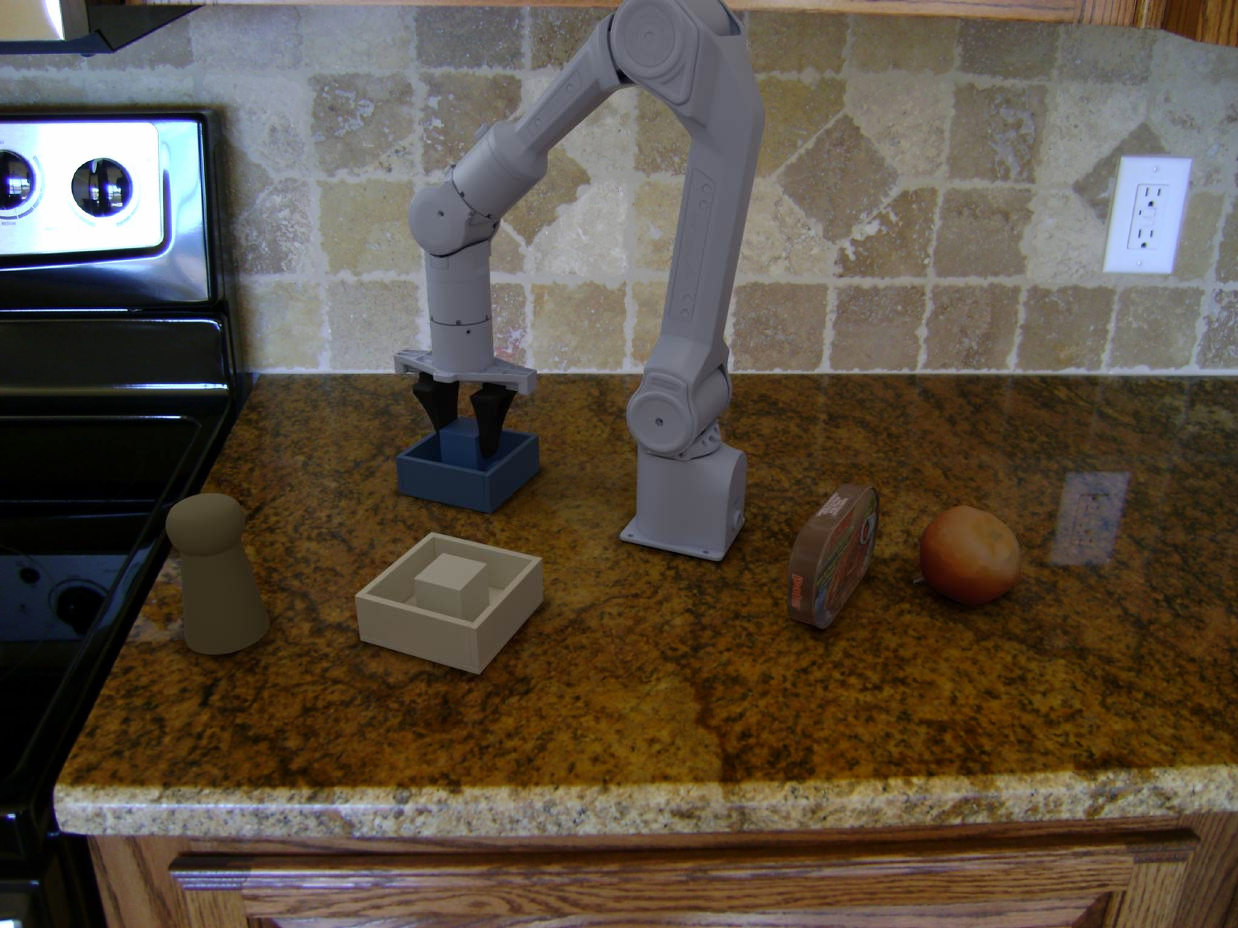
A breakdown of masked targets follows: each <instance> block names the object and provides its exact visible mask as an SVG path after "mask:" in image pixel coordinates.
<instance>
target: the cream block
mask: <svg viewBox="0 0 1238 928" xmlns="http://www.w3.org/2000/svg"><path fill="white" fill-rule="evenodd" d="M414 582H415V592H416V603H417V607H418V608H421V609H425V610H429V611H432V612H436V613H440V614H443V615H447V616H451V617H455V618H458V619H462V620H466V621H469V622H474V621H475V620H476V619H477V618H478V617H479V616H480V615H481V614H482V613H483V612H484V611H485V609H486V608H487V607H488V606H489V605H490V600H489V583H488V566H487V564H486V563H482V562H478V561H474V560H470V559H465V558H461V557H457V556H453V555H449V554H445V553H442V554H441V555H440V556H439V557H438V558H437V559H436V560H434V561H433V562H432V563H431V564H430V565H429V566H428V567H426V568H425V569H424V570H423V571H422V572H421V573H420V574H419V575H417V576H416V577H415V578H414Z"/></svg>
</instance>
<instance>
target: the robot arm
mask: <svg viewBox="0 0 1238 928" xmlns="http://www.w3.org/2000/svg"><path fill="white" fill-rule="evenodd" d="M747 48H748V47H747V28H746V27H745V26H744V24H743V23H742V22H741V21H740V19H739V18H738V17H737V16H736V14H735V13H734V12H733V11H732V10H731V8H730V7H729V5H728V4H727V3H726V2H725V1H724V0H623V1H622V2H621V3H620V4H619V6H618V8H617V10H616V11H615V12H611V13H609V14H608V15H607V16H605V17H604V18H603V19H601V20H600V21H599V22H598V23H597V24H596V26H595V27H594V29H593V30H592V32H591V34H590V36H589V37H588V39H587V40H586V41H585V43H584V44H583V45H582V46H581V47H580V48H579V50H578V51H577V52H576V53H575V54H574V55H573V57H572V58H571V59H570V60H569V62H567V64H566V65H565V66H564V68H563V69H561V71H560V72H559V73H558V74H557V76H556V77H555V78H554V79H553V80H552V81H551V82H550V83H549V85H548V86H547V87H546V88H545V89H544V90H543V92H542V93H541V94H540V95H539V96H538V97H537V99H536V100H535V101H534V103H532V104H531V106H530V107H529V108H528V109H527V110H526V111H525V112H524V114H523V115H522V116H521V117H520V119H518V121H511V120H506V119H502V120H498V121H496V122H495V123H488V124H482V125H481V126H480V127H479V128H478V130H476V132H475V133H474V136H475V137H476V139H477V141H476V143H475V144H474V145H473V146H472V147H471V148H470V149H469V150H468V151H467V153H466V154H465V155H464V156H463V157H462V158H461V159H460V160H459V161H458V162H457V163H456V162H454V163H449V164H448V165H447V166H446V167H445V168H444V169H443V175H444V177H443V178H442V182H441V184H428V185H424V186H421V187H419V188H418V189H416V192H415V194H414V196H413V197H412V199H411V201H410V203H409V205H408V209H407V222H408V223H407V224H408V228H409V231H410V233H411V236H412V238H413V240H414V241H415V242H416V243H417V245H418V246H419V247H420V248H421V249H422V250H423V252H424V268H425V278H426V292H427V304H428V305H427V306H428V318H429V328H430V329H429V330H430V342H431V349H430V350H428V349H427V350H426V349H425V350H423V349H411V348H404V349H401V350H399V351H397V352H395V353H394V354H393V355H392V357H393V365H394V373H395V374H397V375H398V374H399V375H406V374H408V373H410V374H416V375H418V379H417V382H416V383H413V385H412V388H411V389H412V395H414V396H415V398H416V399H417V400H418V402H419V403H420V404H421V406H422V407H423V409H424V410H425V412H426V414H427V415H428V417H429V419H430V422H431V424H432V427H433V429H434V431H436V434H437V437H438V440H439V442H440V432H439V431H440V430H441V429H443V428H444V427H446V426H447V425H449V424H450V423H452V422H453V421H454V420H456V419H457V418H459V413H458V406H459V394H460V393H459V392H460V387H461V386H460V385H461V382H462V383H467V384H474V385H481V388H480V389H478V390H477V391H475V392H474V393H472V394H470V395H469V402H470V403H471V405H472V408H473V411H474V414H475V419H477V424H478V430H479V445H480V450H481V455H482V458H486V459H488V458H490V457H491V456H492V455H494V454H495V453H496V452H498V446H499V440H500V435H501V431H502V428H503V426H504V423H505V421H506V418H507V414H508V412H509V410H510V407H511V405H512V403H513V401H514V399H515V397H516V395H517V393H518V395H521V396H527V397H528V396H529V395H531V394H533V393H534V392H535V391H536V390H538V370H537V369H535V368H530V367H525V366H522V365H519V364H516V363H513V362H510V361H508V360H505V359H503V358H499V357H497V356H495V351H494V350H495V349H494V330H493V327H494V326H493V312H492V311H493V309H492V289H491V288H492V287H491V268H490V267H491V266H490V265H491V264H490V257H492V243H493V242H492V241H493V239H494V237H495V236H496V235H497V234H498V231H499V229H500V226H501V222H502V221H501V220H502V218H503V217H504V216H505V215H506V214H507V213H508V212H509V211H510V210H511V209H512V208H513V207H514V206H516V205H517V203H519V202H520V201H521V200H522V199H523V198H524V197H525V196H526V195H527V194H528V193H529V192H530V191H531V190H532V189H533V188H534V187H535V186H536V185H538V183H539V182H540V181H541V180H542V179H544V178H545V177H546V175H547V173H548V168H549V163H548V158H549V157H548V156H549V155H548V154H549V152H550V150H552V149H553V148H554V147H555V146H556V145H558V143H560V142H561V141H562V140H563V139H564V138H565V137H566V136H567V135H568V134H570V133H571V132H572V131H573V130H574V129H576V127H577V126H579V125H580V124H581V123H582V122H583V121H584V120H586V118H588V117H589V116H590V115H592V113H593V112H594V111H595V110H597V109H598V108H599V107H600V106H601V105H602V104H603V103H604V102H605V101H608V99H610V97H611V96H612V95H614V93H616V92H618V91H621V90H624V89H628V88H629V89H630V88H634V87H638V86H639V87H640V88H642V89H643V90H644V91H646V92H648V93H649V94H650V95H652V96H654V97H655V98H657V99H658V100H659V101H661V102H662V103H664V104H665V105H666V106H667V107H668V108H669V110H671V112H672V113H673V115H674V116H675V117H676V119H677V120H678V121H679V123H680V124H681V125H682V126H683V128H684V129H685V130H686V132H687V133H688V135H689V136H690V144H689V150H688V155H687V162H686V169H685V173H684V174H685V175H684V181H683V188H682V192H681V193H682V194H681V199H680V206H679V213H678V218H677V225H676V231H675V238H674V244H673V249H672V256H671V262H670V269H669V276H668V281H667V287H666V294H665V300H664V304H663V305H664V306H663V313H662V318H661V323H660V324H661V325H660V330H659V331H660V332H659V336H658V338H657V340H656V342H655V344H654V346H653V348H652V350H651V353H650V354H649V356H648V359H647V360H646V363H645V365H644V367H643V372H642V379H641V382H640V384H639V387H638V388H637V390H636V391H634V393H633V394H632V395H631V397H630V399H629V401H628V402H627V407H626V412H625V415H626V417H625V418H626V424H627V427H628V430H629V432H630V435H631V436H632V437H633V439H634V440H635V441H636V443H637V463H636V464H637V466H636V506H635V507H636V512H635V513H636V514H635V516H633V518H632V519H631V520H630V521H629V523H628V524H627V525H626V526H625V527H624V528H623V530H622V531H621V532H620V534H619V539H620V540H621V541H623V542H628V543H632V544H637V545H641V546H645V547H650V548H655V549H659V550H664V551H669V552H673V553H677V554H682V555H686V556H691V557H695V558H700V559H704V560H709V561H714V562H721V561H722V560H723V559H724V557H725V556H726V554H727V552H728V550H730V547H731V546H732V544H733V542H734V540H735V539H736V537H737V536H738V534H739V533H740V530H741V529H742V527H743V526H744V524H745V521H746V519H745V517H744V512H745V499H746V489H747V488H746V486H747V474H748V459H747V458H748V457H747V453H746V452H745V451H743V450H741V449H738V448H735V447H732V446H730V445H728V444H726V443H725V442H724V441H722V434H721V429H720V425H719V417H720V415H722V414H723V413H724V412H725V411H726V410H727V408H728V407H729V406H730V403H731V400H732V397H733V396H732V395H733V384H732V380H731V376H730V373H729V367H728V365H729V364H728V363H729V357H730V352H731V351H730V347H729V345H728V344H727V343H726V341H725V340H724V336H725V335H724V334H725V330H726V325H727V320H728V315H729V310H730V304H731V299H732V295H733V294H732V293H733V289H734V283H735V280H736V279H735V278H736V274H737V268H738V263H739V258H740V253H741V248H742V244H743V243H742V242H743V238H744V232H745V227H746V222H747V218H748V212H749V207H750V202H751V197H752V192H753V186H754V182H755V176H756V171H757V167H758V162H759V155H760V151H761V147H762V146H761V145H762V140H763V136H764V131H765V125H766V109H765V105H764V102H763V98H762V95H761V92H760V88H759V85H758V81H757V79H756V76H755V72H754V68H753V66H752V63H751V59H750V55H749V52H748V49H747Z"/></svg>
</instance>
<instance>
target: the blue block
mask: <svg viewBox="0 0 1238 928" xmlns="http://www.w3.org/2000/svg"><path fill="white" fill-rule="evenodd" d="M439 432H440V445H441V457H442V463H443V464H448V465H453V466H458V467H463V468H467V469H472V470H477V471H483V470H484V469H486V468H487V467H488V466H489V465H491V464H492V463H493V462H494V461H496V460H497V459H498V456H497V452H496V453H495V454H494V455H492V456H491V457H490V458H488V459H486V458H482V455H481V450H480V445H479V430H478V424H477V419H476V418H474V417H469V416H463V415H460V416H458V418H457V419H456V420H454V421H453V422H452V423H450V424H449V425H447V426H446V427H444V428H443V429H441V430H440V431H439Z"/></svg>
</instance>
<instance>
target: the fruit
mask: <svg viewBox="0 0 1238 928" xmlns="http://www.w3.org/2000/svg"><path fill="white" fill-rule="evenodd" d="M919 564H920V571H921V575H920V576H919V577H918V578H915V579H914V580H913V584H917V583H919V582H925V583H926V584H928V585H929V586H930V587H931V588H932V589H933V590H935V591H936V592H937V593H938V594H940V595H941V596H943V597H946V598H948V599H950V600H953V601H955V602H957V603H959V604H961V605H964V606H966V607H974V606H982V605H984V604H987V603H989V602H991V601H993V600H994V599H997V598H999V597H1001V596H1002V595H1005V594H1006V593H1008V591H1009V590H1011V588H1012V587H1013V586H1014V585H1015V584H1016V583H1017V582H1018V580H1019V578H1020V576H1021V573H1022V552H1021V548H1020V543H1019V541H1018V539H1017V537H1016V535H1015V533H1014V532H1013V531H1012V529H1011V528H1010V527H1009V526H1008V525H1006V523H1004V522H1003V521H1001V520H1000V519H999V518H998V517H997V516H996V515H995V514H993V513H990V512H989V511H986V510H981V509H978V508H975V507H973V506H970V505H966V504H962V505H957V506H954V507H952V508H949V509H946V510H943V511H942V512H940V513H939V514H938V515H936V517H934V518H932V520H931V521H930V522H929V524H927V526H926V527H925V528H924V530H923V532H922V534H921V539H920V543H919Z"/></svg>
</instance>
